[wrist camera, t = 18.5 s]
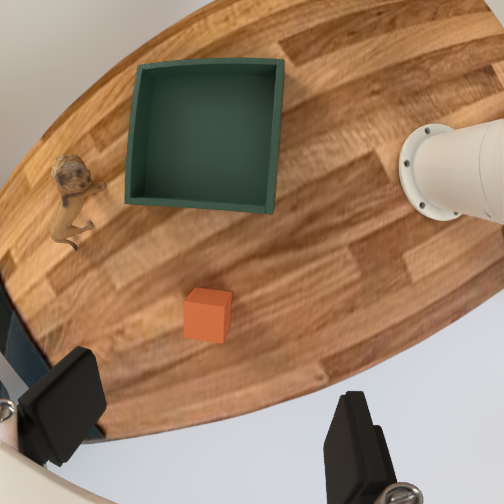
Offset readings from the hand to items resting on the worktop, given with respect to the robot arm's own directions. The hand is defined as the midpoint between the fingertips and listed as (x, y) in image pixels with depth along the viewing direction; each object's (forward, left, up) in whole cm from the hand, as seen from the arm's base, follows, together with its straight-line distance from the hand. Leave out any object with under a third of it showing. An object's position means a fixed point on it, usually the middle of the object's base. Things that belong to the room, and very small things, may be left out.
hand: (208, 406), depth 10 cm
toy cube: (+6, +9, -28) cm, 30 cm away
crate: (+8, -13, -28) cm, 32 cm away
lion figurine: (+26, -4, -28) cm, 39 cm away
